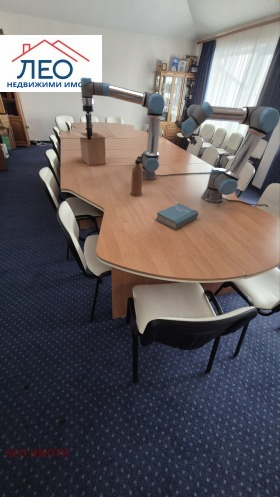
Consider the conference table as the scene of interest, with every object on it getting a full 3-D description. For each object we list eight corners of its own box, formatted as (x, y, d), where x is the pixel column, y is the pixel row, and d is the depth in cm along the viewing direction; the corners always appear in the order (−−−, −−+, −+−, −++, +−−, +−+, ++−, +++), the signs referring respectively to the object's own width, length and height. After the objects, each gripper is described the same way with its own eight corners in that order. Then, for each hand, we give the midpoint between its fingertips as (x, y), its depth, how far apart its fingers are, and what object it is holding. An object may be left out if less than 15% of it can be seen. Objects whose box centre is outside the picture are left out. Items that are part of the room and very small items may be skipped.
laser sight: (156, 165, 238) (157, 155, 232) (135, 163, 241) (136, 153, 235) (157, 163, 245) (158, 153, 240) (137, 160, 248) (138, 151, 242)
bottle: (129, 194, 172) (130, 160, 157) (134, 191, 177) (136, 158, 162) (137, 196, 168) (139, 162, 153) (143, 193, 174) (145, 160, 159)
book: (177, 209, 154) (178, 203, 151) (197, 218, 145) (198, 211, 142) (156, 219, 141) (156, 212, 138) (175, 230, 132) (177, 222, 129)
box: (116, 165, 229) (116, 136, 213) (83, 168, 214) (80, 137, 198) (102, 154, 259) (101, 128, 243) (71, 156, 244) (68, 129, 228)
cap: (134, 163, 159) (134, 160, 157) (137, 162, 161) (137, 159, 160) (138, 164, 157) (138, 161, 156) (141, 163, 160) (141, 160, 158)
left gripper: (84, 103, 166) (86, 134, 179) (80, 106, 147) (83, 140, 159) (94, 104, 167) (95, 135, 180) (91, 106, 147) (93, 141, 160)
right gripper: (169, 119, 138) (169, 125, 158) (195, 149, 142) (192, 151, 162) (178, 109, 135) (177, 116, 155) (204, 140, 139) (200, 143, 159)
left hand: (90, 137), depth 170 cm, fingers open, 13 cm apart
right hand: (185, 134), depth 158 cm, fingers open, 13 cm apart
